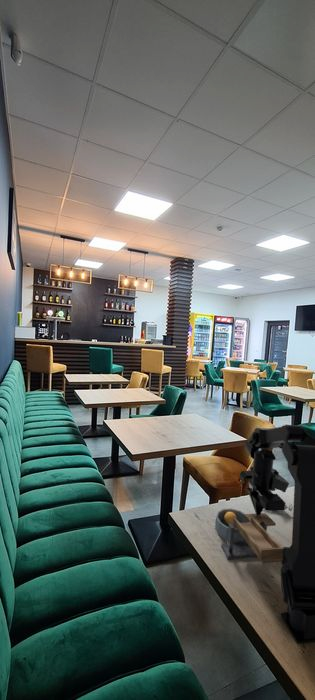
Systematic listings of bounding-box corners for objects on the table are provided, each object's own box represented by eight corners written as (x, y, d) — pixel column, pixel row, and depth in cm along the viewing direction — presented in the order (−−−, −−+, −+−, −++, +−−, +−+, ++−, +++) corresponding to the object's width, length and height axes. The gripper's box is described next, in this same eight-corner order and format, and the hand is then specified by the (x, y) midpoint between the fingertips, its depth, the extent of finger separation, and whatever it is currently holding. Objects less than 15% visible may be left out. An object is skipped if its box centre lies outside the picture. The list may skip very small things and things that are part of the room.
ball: (234, 524, 103) (239, 525, 99) (223, 525, 102) (227, 526, 99) (233, 511, 105) (237, 511, 101) (221, 511, 104) (226, 512, 100)
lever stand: (269, 556, 89) (272, 529, 88) (227, 559, 87) (230, 531, 86) (261, 544, 94) (264, 518, 93) (221, 546, 92) (223, 520, 91)
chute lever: (310, 560, 78) (310, 546, 78) (258, 564, 75) (258, 550, 76) (265, 516, 99) (265, 505, 100) (223, 518, 97) (224, 507, 97)
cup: (256, 541, 95) (258, 529, 95) (223, 543, 93) (224, 531, 93) (241, 519, 106) (242, 508, 105) (210, 520, 104) (211, 509, 104)
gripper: (304, 482, 89) (298, 533, 90) (270, 454, 107) (266, 496, 109) (269, 483, 87) (263, 535, 88) (240, 454, 105) (236, 497, 107)
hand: (257, 514), depth 98 cm, fingers closed
